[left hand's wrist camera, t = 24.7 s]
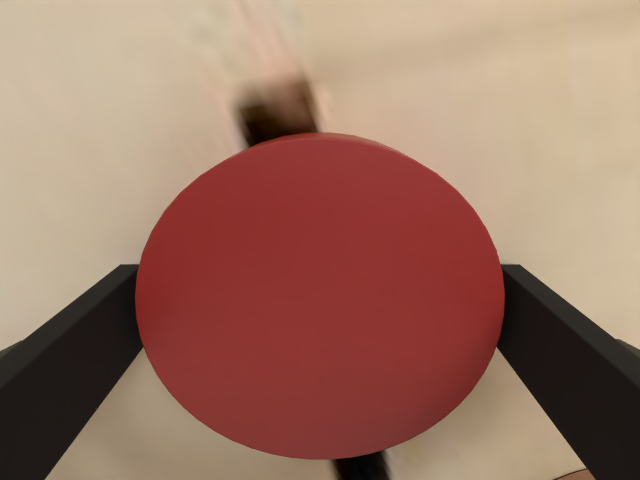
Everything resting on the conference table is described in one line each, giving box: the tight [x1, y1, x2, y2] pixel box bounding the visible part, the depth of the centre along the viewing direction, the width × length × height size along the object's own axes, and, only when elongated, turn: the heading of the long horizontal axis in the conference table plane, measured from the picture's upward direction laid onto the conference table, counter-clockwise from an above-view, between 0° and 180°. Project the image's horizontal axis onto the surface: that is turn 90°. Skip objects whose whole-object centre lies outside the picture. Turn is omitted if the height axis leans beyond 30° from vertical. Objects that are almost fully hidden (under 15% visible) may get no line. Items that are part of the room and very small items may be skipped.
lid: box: [135, 133, 505, 459], centre depth 12 cm, size 11×11×2 cm
